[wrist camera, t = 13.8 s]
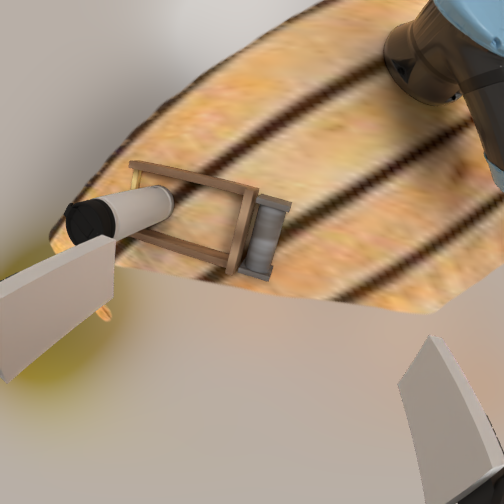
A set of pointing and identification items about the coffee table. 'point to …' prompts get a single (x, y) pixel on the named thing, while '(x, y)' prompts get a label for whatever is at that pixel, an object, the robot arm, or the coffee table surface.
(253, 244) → the bay
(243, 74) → the coffee table surface
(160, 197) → the travel mug
